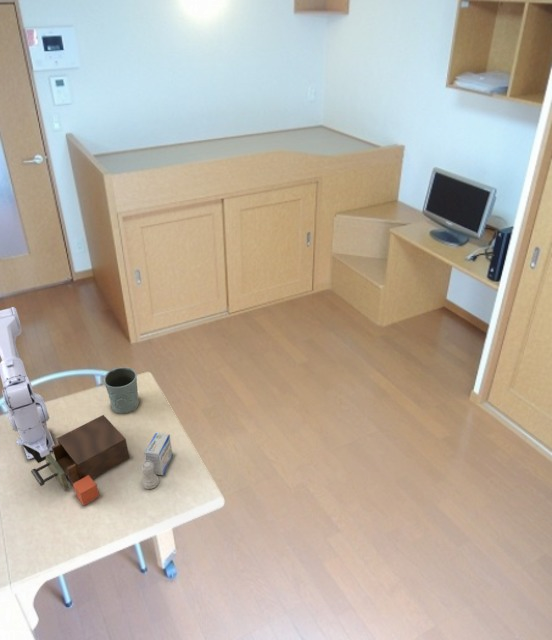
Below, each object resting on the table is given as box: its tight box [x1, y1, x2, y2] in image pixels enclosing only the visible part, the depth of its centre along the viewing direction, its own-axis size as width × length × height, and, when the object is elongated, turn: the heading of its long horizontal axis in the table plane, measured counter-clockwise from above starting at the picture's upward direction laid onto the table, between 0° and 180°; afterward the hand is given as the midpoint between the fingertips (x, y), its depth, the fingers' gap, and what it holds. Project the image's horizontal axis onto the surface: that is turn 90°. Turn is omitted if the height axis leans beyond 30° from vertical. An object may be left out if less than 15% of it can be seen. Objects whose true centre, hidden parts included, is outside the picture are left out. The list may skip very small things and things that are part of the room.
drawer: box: [30, 442, 81, 491], centre depth 148 cm, size 18×12×6 cm, turn 133°
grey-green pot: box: [103, 366, 140, 415], centre depth 170 cm, size 10×10×12 cm
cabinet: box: [56, 414, 130, 480], centre depth 152 cm, size 14×13×8 cm
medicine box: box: [144, 432, 173, 476], centre depth 150 cm, size 8×4×9 cm, turn 168°
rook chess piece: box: [140, 459, 160, 490], centre depth 144 cm, size 4×4×8 cm
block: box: [72, 475, 100, 506], centre depth 142 cm, size 4×4×5 cm
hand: (41, 459), depth 141 cm, fingers closed
